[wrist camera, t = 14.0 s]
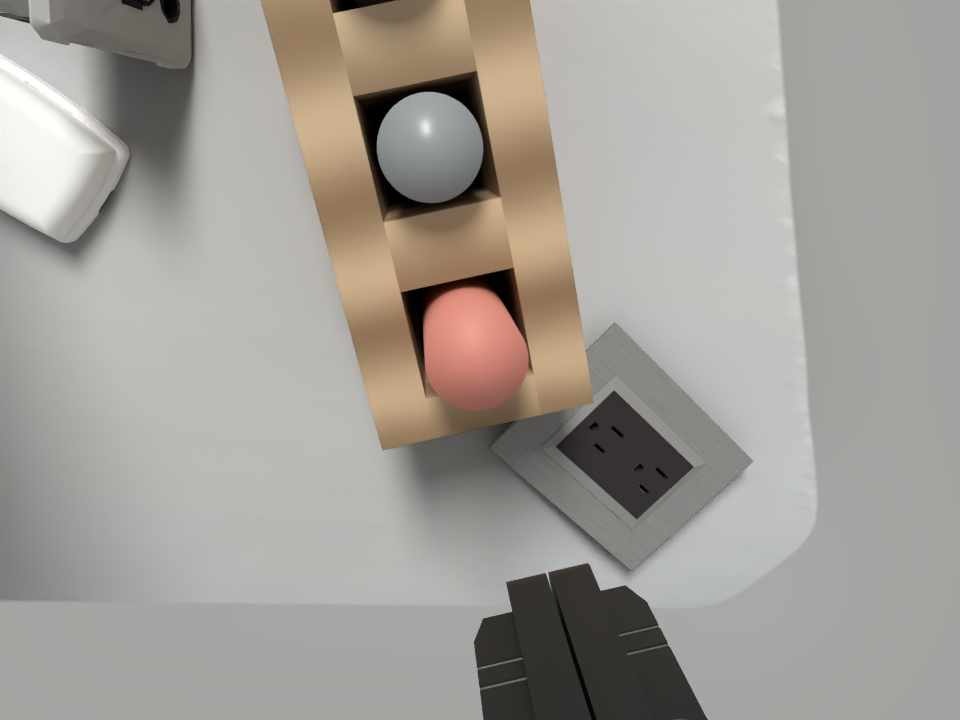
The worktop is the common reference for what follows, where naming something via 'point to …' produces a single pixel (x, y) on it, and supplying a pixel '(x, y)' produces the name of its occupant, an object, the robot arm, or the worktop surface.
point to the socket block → (434, 226)
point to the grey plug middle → (429, 147)
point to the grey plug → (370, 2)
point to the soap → (53, 157)
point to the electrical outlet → (625, 453)
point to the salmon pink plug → (471, 344)
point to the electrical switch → (113, 26)
